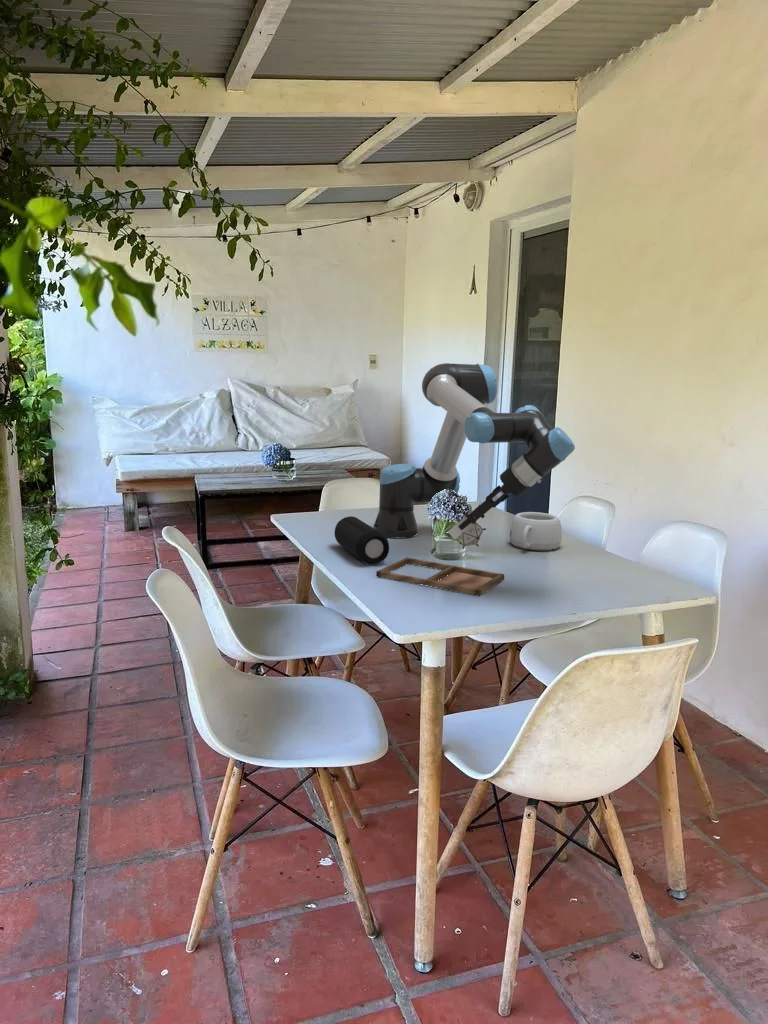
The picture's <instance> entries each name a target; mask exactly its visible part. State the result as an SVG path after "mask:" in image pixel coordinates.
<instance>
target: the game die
mask: <svg viewBox="0 0 768 1024" xmlns="http://www.w3.org/2000/svg"><path fill="white" fill-rule="evenodd" d="M456 519H457V523H456V524H458V523H459V522H460V521H461V520H462V519H463V518H462V519H460V517H457V518H456ZM486 530H487V528H483V527H482V526H481V525H479V523H478V522H477V521H476V522H475V523H474V524H473V525H471V526H470V527H469V528H468V529H467V530H466V531H464V532H463V533H462V534H461V535H460V536H458V537H457V538H456V539H455V540H457V541H458V542H459V545H462V549H465V547H466V546H468V547H469V546H474V545H475V546H476V547H477V548H479V544H478V543H479V541H480V540H481V539H480V538H481V536H482V534H483V532H484V531H486ZM449 537H452V536H451V535H450V534H449Z"/></svg>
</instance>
